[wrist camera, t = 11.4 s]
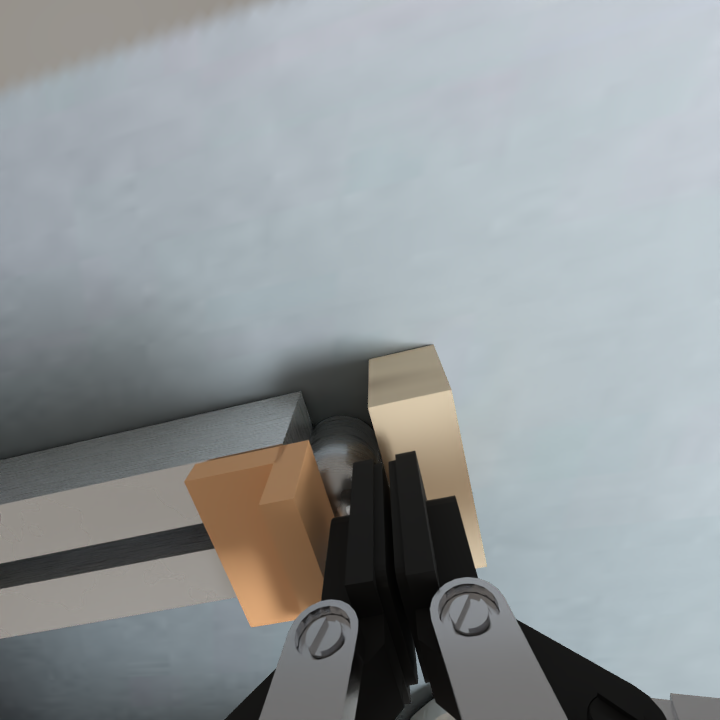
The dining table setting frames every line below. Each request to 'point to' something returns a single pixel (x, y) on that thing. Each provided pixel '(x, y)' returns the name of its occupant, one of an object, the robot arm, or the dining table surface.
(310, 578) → the tab
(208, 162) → the dining table surface
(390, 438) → the hinge block
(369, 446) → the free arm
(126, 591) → the bar
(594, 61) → the dining table surface
